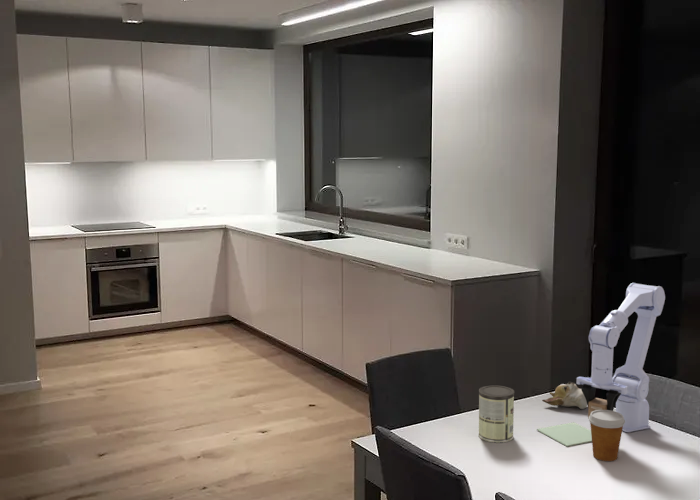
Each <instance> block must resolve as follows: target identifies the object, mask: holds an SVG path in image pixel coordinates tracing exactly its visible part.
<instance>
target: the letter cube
mask: <svg viewBox="0 0 700 500" xmlns="http://www.w3.org/2000/svg"><path fill="white" fill-rule="evenodd" d="M587 410H588V412H587V419H588V420H589V416H590V414H591V412H592V411H595V410H607V399H603V398H599V397H595V398H594V399H593V400H591V401H590V402H589V405H587Z"/></svg>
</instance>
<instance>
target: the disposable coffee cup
mask: <svg viewBox="0 0 700 500" xmlns="http://www.w3.org/2000/svg"><path fill="white" fill-rule="evenodd" d="M588 421H589V423H590V424H589V425H590V430H591V436H592V442H591V445H592V447H591V448H592V455H593V458H595V459H597V460H599V461H603V462H614V461H616V460H618V456H619V450H620V445H621V439H622V435H623V434H622V433H623V430H622V429H623V425H624V423H625V420H624V417H623V415H622V414H620V413H618V412H616V410H613V411H611V410H595V411H592V412H591V414H590V416H589V419H588Z"/></svg>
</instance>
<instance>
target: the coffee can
mask: <svg viewBox="0 0 700 500" xmlns="http://www.w3.org/2000/svg"><path fill="white" fill-rule="evenodd" d="M514 399H515V390H514V389H513V388H511V387H508V386H504V385H498V384H497V385H495V384H494V385H493V384H492V385H486V386H481V387H480V388H479V389H478V437H479V438H480V439H481V440H483V441H485V442H489V443H494V442H496V444H497V443H499V444H501V443H500V442H503V443H508V442H510V441H512V440H513V439H514V418H515V417H514V415H515V414H514V413H515V412H514V411H515V410H514V409H515V407H514V405H515V402H514V401H515V400H514ZM507 441H508V442H507Z"/></svg>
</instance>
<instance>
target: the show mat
mask: <svg viewBox="0 0 700 500" xmlns="http://www.w3.org/2000/svg"><path fill="white" fill-rule="evenodd" d="M537 430H538V432H539V431H540V432H539V433H541V434H543V435H545V436H546V437H548V438H550V439H553V440H554V441H555V442H557V443H559V444H561V445H562V446H565V447H571V446H572V447H573V446H577V445H583V444H589V443H592V436H591V429H589V428H586V427H585V426H582V425H581V424H579V423H576V422H574V421H573V422H568V423H562V424H557V425H551V426H546V427H541V428H536V431H537Z"/></svg>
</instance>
